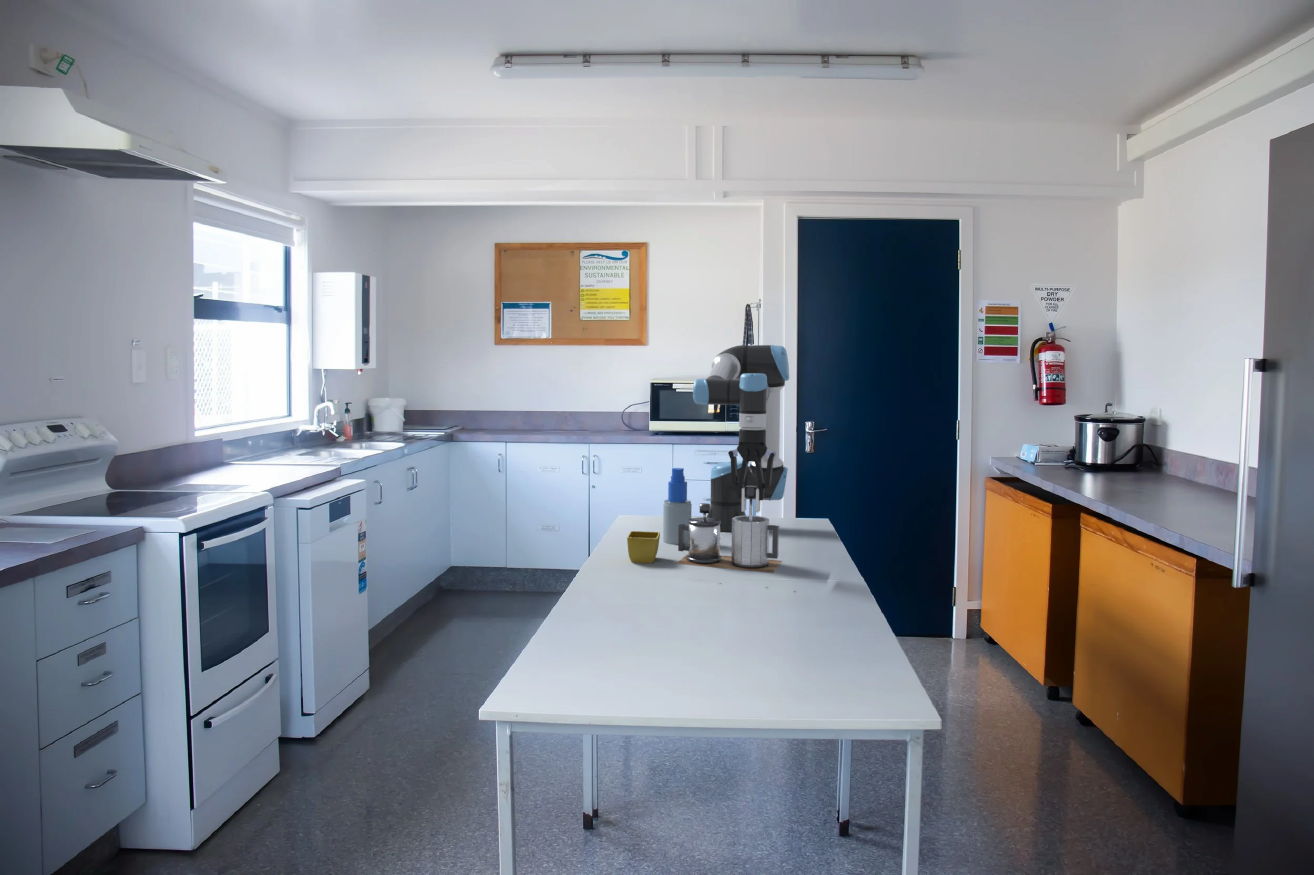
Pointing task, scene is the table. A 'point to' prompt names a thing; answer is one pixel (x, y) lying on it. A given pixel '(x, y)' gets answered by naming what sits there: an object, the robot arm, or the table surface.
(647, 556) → the flower pot
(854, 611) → the table surface
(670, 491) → the spray bottle
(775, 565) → the serving board
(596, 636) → the table surface
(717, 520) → the short press
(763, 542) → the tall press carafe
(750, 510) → the plunger
